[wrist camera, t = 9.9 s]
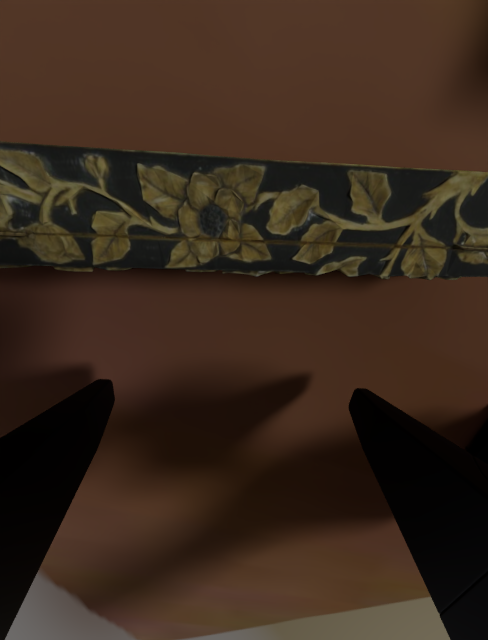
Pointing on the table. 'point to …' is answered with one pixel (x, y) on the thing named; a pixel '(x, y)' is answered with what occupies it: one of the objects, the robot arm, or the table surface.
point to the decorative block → (237, 214)
